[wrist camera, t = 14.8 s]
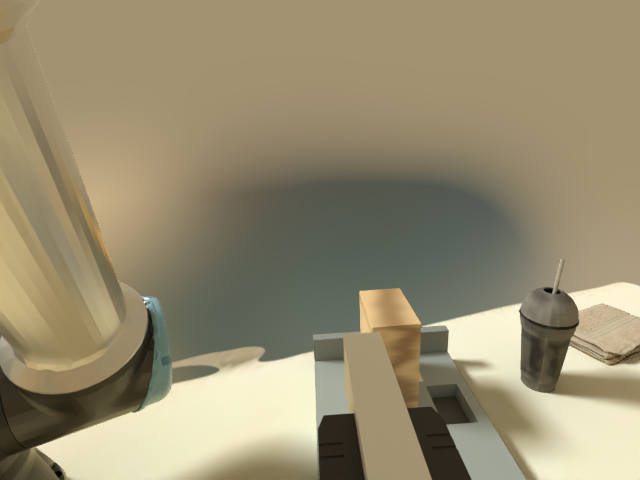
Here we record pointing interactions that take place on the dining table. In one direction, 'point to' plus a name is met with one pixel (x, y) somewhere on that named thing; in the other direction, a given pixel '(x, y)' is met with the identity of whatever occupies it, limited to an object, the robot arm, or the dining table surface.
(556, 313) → the beverage cup
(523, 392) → the dining table surface
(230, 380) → the dining table surface
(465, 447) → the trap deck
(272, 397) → the dining table surface
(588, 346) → the washcloth
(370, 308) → the oak block
